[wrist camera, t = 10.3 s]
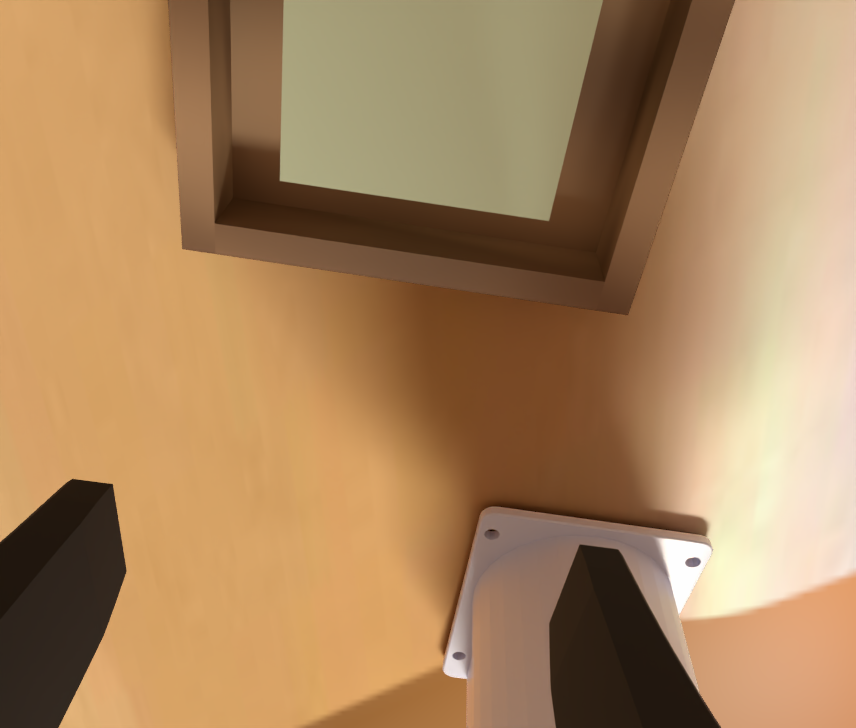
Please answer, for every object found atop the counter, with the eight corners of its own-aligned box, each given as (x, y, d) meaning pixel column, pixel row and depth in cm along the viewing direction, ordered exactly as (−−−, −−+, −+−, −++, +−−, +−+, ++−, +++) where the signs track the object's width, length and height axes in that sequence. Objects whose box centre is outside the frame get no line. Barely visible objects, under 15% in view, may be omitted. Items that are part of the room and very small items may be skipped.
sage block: (528, 116, 17) (548, 221, 12) (336, 87, 17) (279, 180, 12) (575, -110, 15) (625, -94, 10) (351, -147, 15) (287, -149, 10)
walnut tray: (614, 273, 20) (627, 315, 18) (209, 212, 20) (182, 248, 18) (800, -316, 13) (851, -344, 11) (188, -425, 13) (142, -470, 11)
